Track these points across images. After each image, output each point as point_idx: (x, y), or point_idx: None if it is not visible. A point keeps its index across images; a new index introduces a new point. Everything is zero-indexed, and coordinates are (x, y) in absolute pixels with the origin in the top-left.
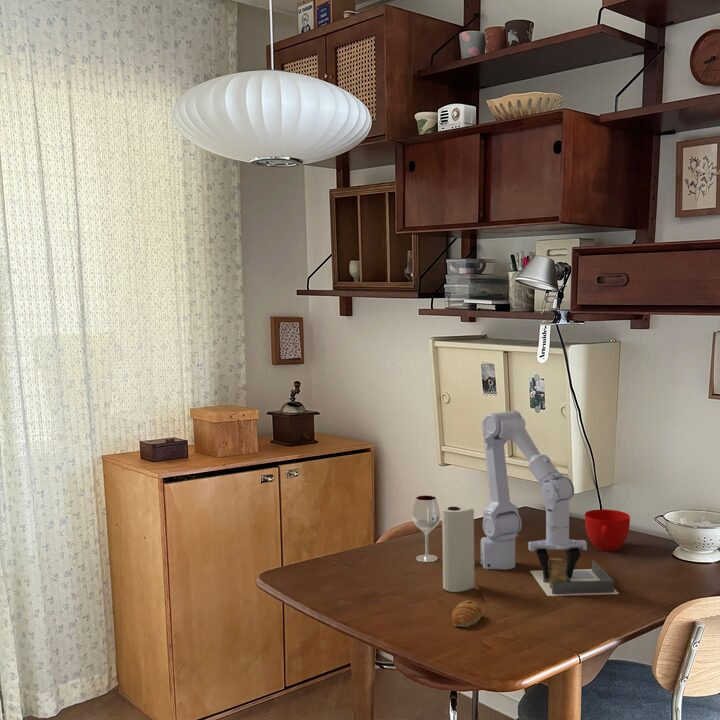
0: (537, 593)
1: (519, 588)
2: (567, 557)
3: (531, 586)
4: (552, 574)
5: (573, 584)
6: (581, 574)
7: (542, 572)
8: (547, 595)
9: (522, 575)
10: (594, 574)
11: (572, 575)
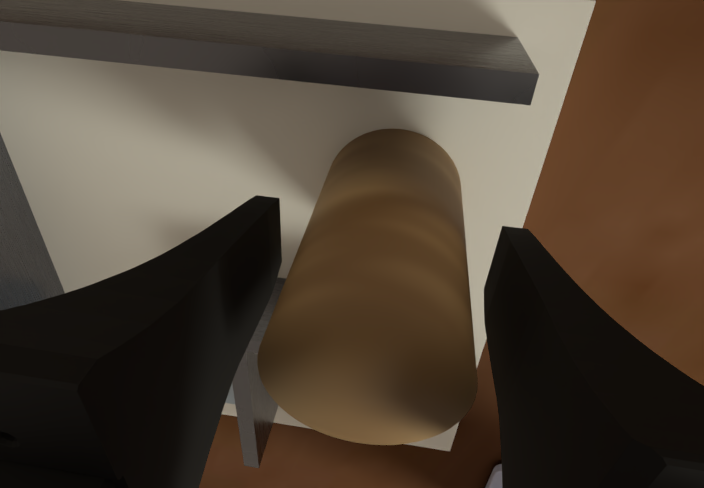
0: (581, 167)
1: (656, 283)
2: (209, 414)
3: None
4: (459, 241)
5: (274, 38)
6: None
7: None
8: (592, 8)
9: (498, 432)
10: None
11: None
